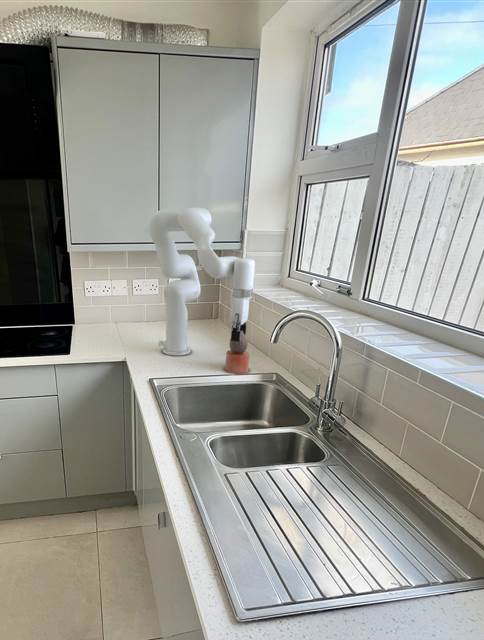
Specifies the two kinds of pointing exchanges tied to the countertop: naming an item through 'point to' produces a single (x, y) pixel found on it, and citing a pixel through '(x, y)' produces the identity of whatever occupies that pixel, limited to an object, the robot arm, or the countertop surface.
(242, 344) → the vase
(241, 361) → the upturned mug
